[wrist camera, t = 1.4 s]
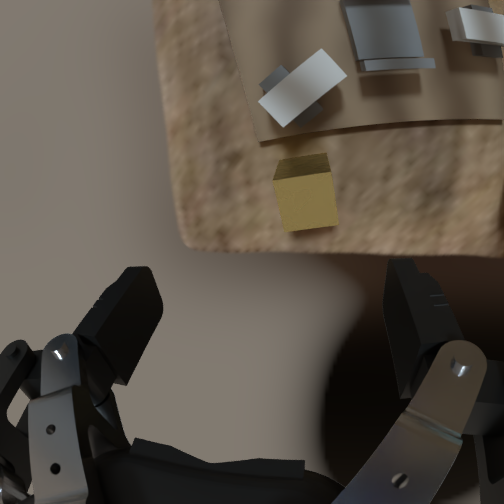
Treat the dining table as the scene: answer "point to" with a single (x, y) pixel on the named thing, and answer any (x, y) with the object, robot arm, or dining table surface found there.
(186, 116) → the dining table surface
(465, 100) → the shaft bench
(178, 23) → the dining table surface
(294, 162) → the block
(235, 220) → the dining table surface
